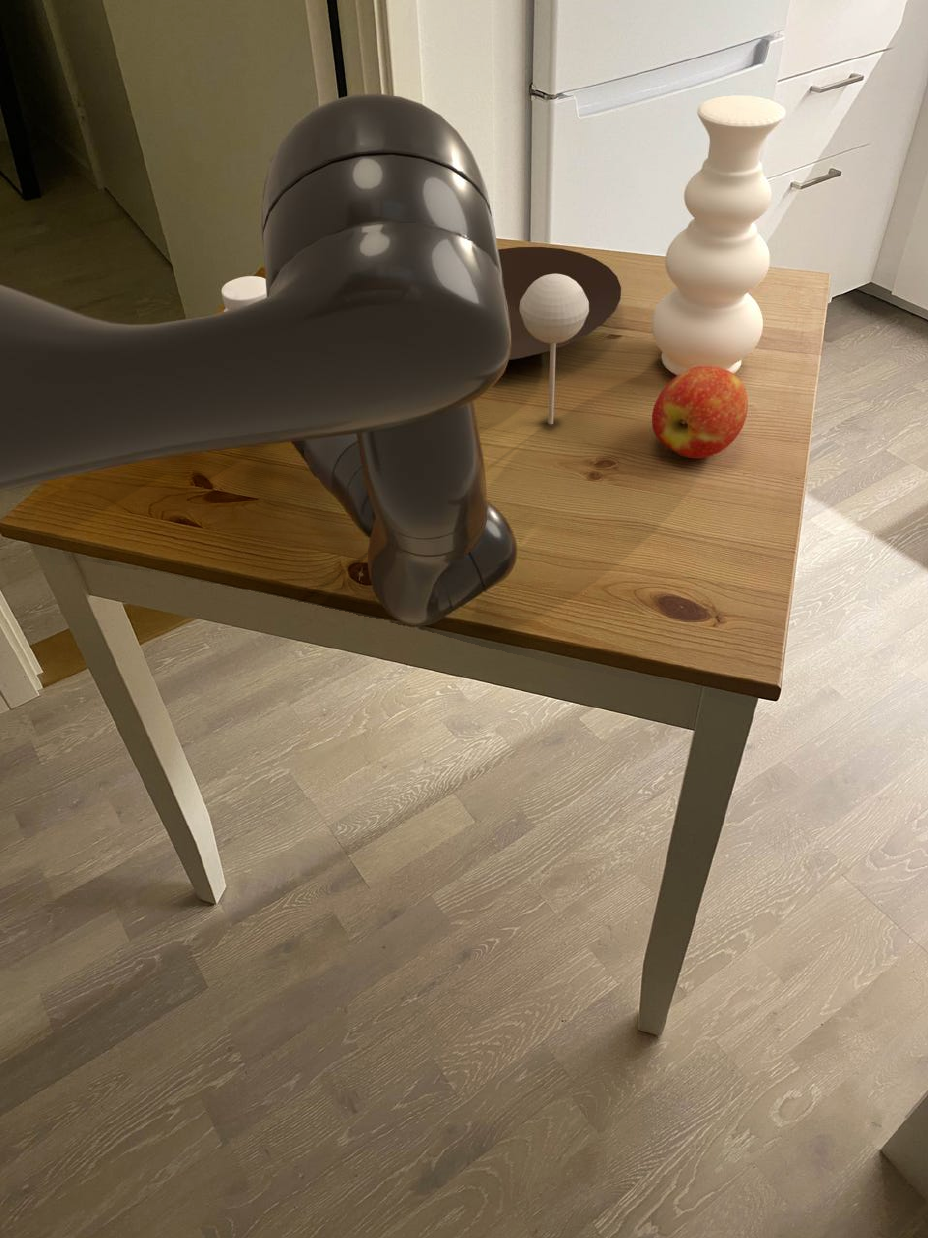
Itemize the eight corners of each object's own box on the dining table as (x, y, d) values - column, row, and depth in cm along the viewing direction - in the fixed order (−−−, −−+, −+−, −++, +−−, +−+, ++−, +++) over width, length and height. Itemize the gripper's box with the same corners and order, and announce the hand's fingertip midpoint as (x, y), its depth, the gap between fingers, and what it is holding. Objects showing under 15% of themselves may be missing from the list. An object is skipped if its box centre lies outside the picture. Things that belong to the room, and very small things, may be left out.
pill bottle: (255, 368, 100) (233, 268, 92) (307, 376, 99) (289, 275, 91) (227, 399, 96) (200, 298, 88) (280, 408, 95) (259, 306, 87)
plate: (438, 247, 120) (436, 218, 117) (650, 284, 111) (654, 254, 108) (324, 356, 103) (319, 325, 100) (565, 410, 94) (567, 378, 91)
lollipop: (510, 433, 91) (509, 287, 80) (530, 401, 95) (532, 257, 84) (572, 445, 90) (579, 298, 79) (589, 412, 93) (599, 266, 82)
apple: (634, 451, 89) (643, 377, 83) (683, 411, 93) (695, 338, 87) (708, 485, 85) (722, 409, 79) (756, 441, 89) (773, 367, 83)
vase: (757, 343, 101) (810, 87, 83) (749, 399, 94) (806, 132, 76) (655, 332, 103) (684, 81, 85) (640, 386, 96) (669, 124, 78)
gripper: (422, 378, 77) (342, 297, 87) (258, 432, 72) (194, 340, 82) (428, 453, 82) (352, 369, 92) (276, 508, 78) (213, 413, 88)
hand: (278, 355), depth 87 cm, fingers open, 8 cm apart
